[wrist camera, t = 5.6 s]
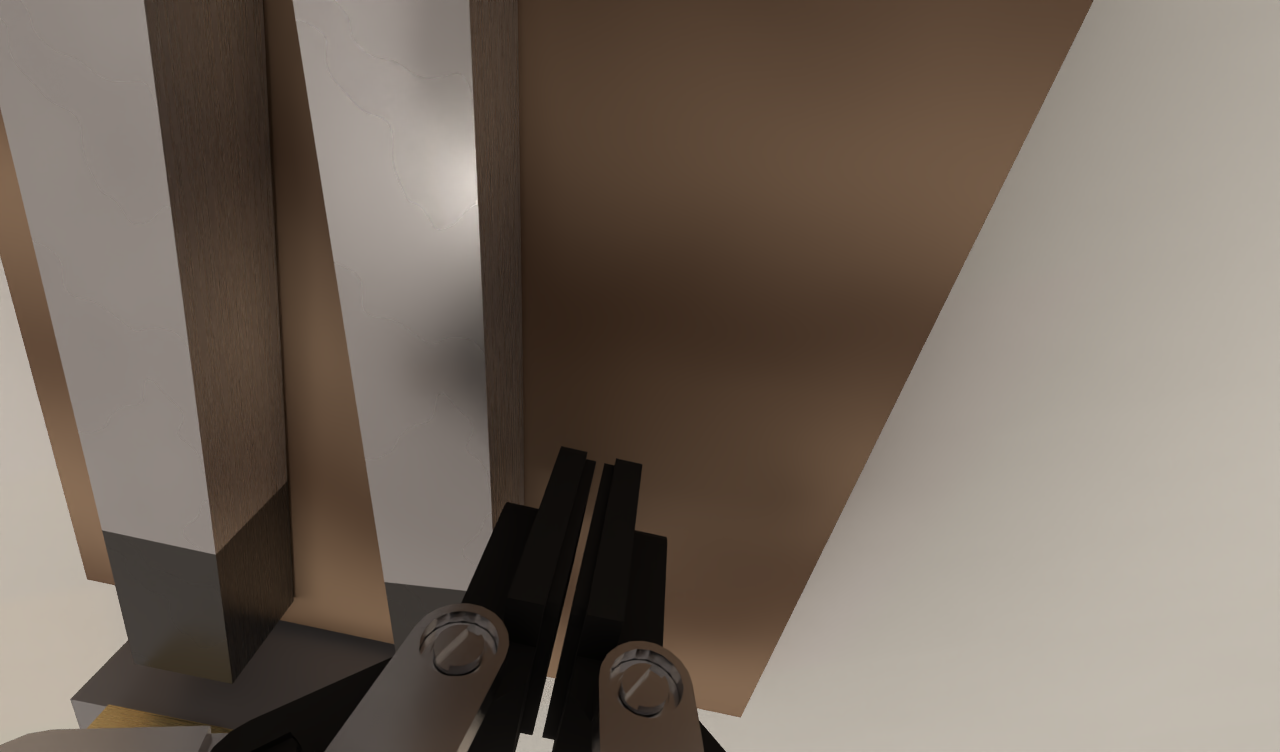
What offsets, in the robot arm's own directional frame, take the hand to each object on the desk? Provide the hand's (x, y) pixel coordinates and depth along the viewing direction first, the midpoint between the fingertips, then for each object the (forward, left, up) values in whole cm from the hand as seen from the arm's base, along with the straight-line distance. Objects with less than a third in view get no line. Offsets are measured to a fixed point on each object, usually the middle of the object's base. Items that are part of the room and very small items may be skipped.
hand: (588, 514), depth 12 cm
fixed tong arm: (-3, -8, -1) cm, 9 cm away
